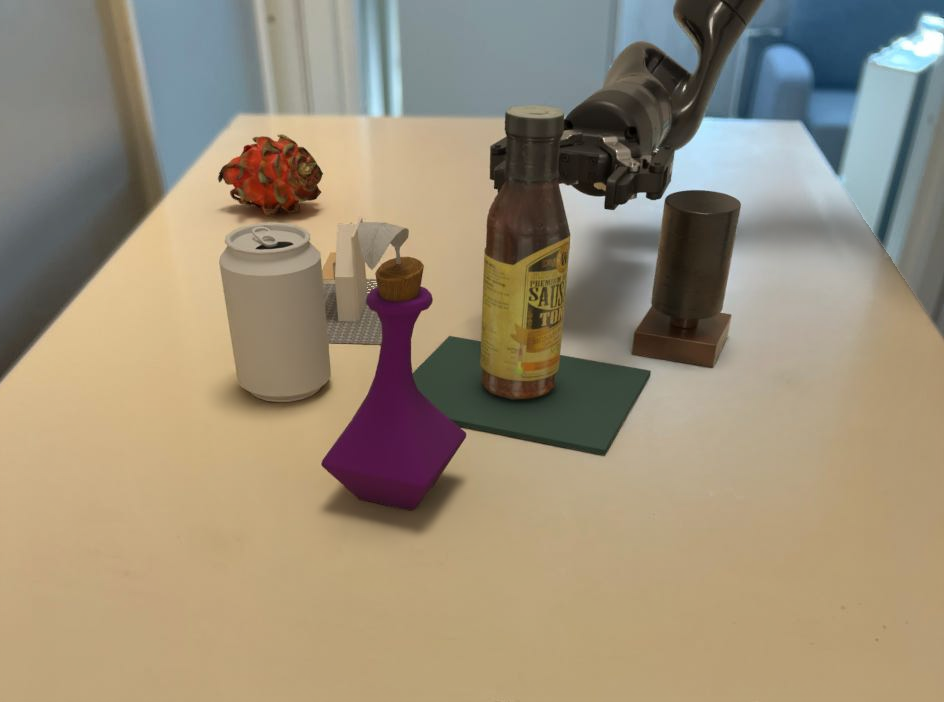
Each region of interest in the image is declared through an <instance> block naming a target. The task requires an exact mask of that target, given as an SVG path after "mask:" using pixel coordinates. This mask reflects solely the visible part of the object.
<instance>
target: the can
mask: <svg viewBox="0 0 944 702" xmlns="http://www.w3.org/2000/svg"><path fill="white" fill-rule="evenodd" d="M224 244H225V245H226V247H225V248H224V250H223V251H222V253H221V254H220V256H219V261H218V263H219V270H220V277H221V283H222V289H223V296H224V302H225V310H226V314H227V315H226V316H227V321H228V322H227V323H228V328H229V334H230V341H231V347H232V354H233V360H234V366H235V373H236V381H237V382H238V384H239V385H240V387H241V388H243V389H244V390H246V391H248V392H250V394H251V395H253V396H254V397H256V398H258V399H260V400H263V401H267V402H274V403H287V402H288V403H290V402H296V401H300V400H304V399H306V398H309V397H312V396H314V395H315V394H316V393H318V392H319V391H320V390H321V389H322V387H323V386H324V385H326V383H328V381H329V380H330V378H331V377H332V372H331V371H332V368H331V357H330V345H329V343H328V333H327V322H326V311H325V300H324V288H323V277H322V269H323V267H322V257H321V256H322V255H321V252H320V251H319V249H317V248H316V247H315V245H314V244H313V243H311V233H310V232H309V231H308V230H307V229H306V227H305V228H304V227H302V226H300V225H298V224H293V223H288V222H277V221H276V222H274V221H273V222H259V223H258V222H257V223H252V224H246V225H243V226H239V227H236V228H235V229H233V230H231V231H230V232H229V233H227V234H226V235H225V238H224Z"/></svg>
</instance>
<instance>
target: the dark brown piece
mask: <svg viewBox="0 0 944 702" xmlns="http://www.w3.org/2000/svg"><path fill="white" fill-rule="evenodd" d="M741 208H742V203H741V201H740V200H739V199H738V198H737V197H734V196H733V195H730V194H728V193H727V194H726V193H723V192H720V191H713V190H702V189H689V190H688V189H687V190H679V191H675V192H672V193H670V194H668V195H667V196H665V198H664V202H663V210H662V218H661V226H660V232H659V241H658V248H657V255H656V261H655V262H656V263H655V270H654V279H653V285H652V292H651V293H652V294H651V299H650V300H651V301H650V303H651V306H650V307H649V309H648V310H647V312H646V313H645V315H644V316H643V318H642V320H641V322H640V323H639V324H638V325H637V327H636V329H635V330H634V332H633V340H632V348H631V354H632V355H636V356H643V357H648V358H654V359H660V360H666V361H671V362H672V361H673V362H678V363H684V364H690V365H697V366H702V367H708V368H713V367H715V363H716V361H717V360H718V357H719V355H720V353H721V350H722V349H723V346H724V344H725V342H726V340H727V338H728V336H729V332H730V331H729V330H730V326H731V320H732V313H725V312H722V311H723V308H724V304H725V303H724V302H725V296H726V291H727V285H728V280H729V274H730V269H731V264H732V258H733V252H734V247H735V242H736V235H737V230H738V226H739V225H738V224H739V220H740V219H739V218H740V214H741Z"/></svg>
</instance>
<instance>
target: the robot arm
mask: <svg viewBox="0 0 944 702" xmlns="http://www.w3.org/2000/svg"><path fill="white" fill-rule="evenodd" d="M765 1H766V0H675V1H674V4H673V8H672V15H673V18H674V21H675V22H676V23H677V25H678V27H679V28H680V29H681V30H682V32H683V33H684V34H685V35H686V36H687V38H688V39H689V40H690V41H691V43H692V45H693V46H694V48H695V51H696V54H697V63H696V67H695V69H694V71H693V73H692V72H690V71H689V70H688V69H687V68H685V67H684V66H682V64H680V63H679V62H677V61H676V60H675V59H674V58H673V57H671V56H670V55H667V53H666V52H665V51H664V50H662V49H661V48H659V46H657V45H655V44H653V43H652V42H649V41H643V40H640V41H634V42H633V43H630V44H629V45H627V46H625V48H624V49H622V51H621V52H620V53H619V54H618V55H617V56H616V58H615V59H614V60H613V62H612V64H611V65H610V67H609V69H608V72H607V73H606V77H605V79H604V81H603V82H604V83H603V85H602V87H601V88H600V89H598V90H596V91H595V92H593V93H592V94H591V95H590V96H588V97H587V98H586V99H585V100H583V101H582V102H580V103H579V104H578V105H577V106H576V107H574V108H573V109H572V110H571V111H570V112H569V113H568V114H567V115H566V116H565V117H564V132H563V135H562V137H561V139H560V149H559V151H560V152H559V161H558V172H559V178H558V183H559V185H561V184H563V185H565V186H571V187H572V188H573V189H575V190H576V191H578V192H580V193H581V194H584V195H587V196H590V197H598V198H599V197H604V204H603V208H604V210H608V211H615V210H616V209H617V208H618V207H619V206H622V205H625V204H627V203H628V201H631V200H636V199H637V198H638V197H637V196H638V194H642V193H643V194H645V198H646V199H647V200H650V201H657V200H661V199H662V197H663V196H664V194H665V192H666V190H667V189H668V187H669V185H670V183H671V182H672V175H673V169H674V159H675V154H676V153H675V152H676V151H679V150H681V149H683V147H685V146H686V145H688V144H689V143H690V142H691V141H692V140H693V138H694V137H695V136H696V134H697V133H698V131H699V129H700V127H701V126H702V123H703V121H704V118H705V116H706V113H707V111H708V107H709V105H710V102H711V100H712V97H713V94H714V91H715V89H716V87H717V84H718V81H719V79H720V77H721V74H722V72H723V69H724V67H725V65H726V63H727V61H728V59H729V57H730V55H731V54H732V51H734V48H735V47H736V45H737V43H738V42H739V40H740V39H741V37H742V36H743V34H744V32H745V31H746V29H747V27H748V26H749V25H750V23H751V22H752V20H753V19H754V17H755V16H756V14H757V13H758V11H759V10H760V9H761V7H762V6H763V5H764V3H765ZM506 145H507V136H505V137H503V138H501V139H500V140H498V141H496V142H495V143H492V144H491V145H489V180H491V181H493V189H494V190H497V194H498V193H499V191H500V190H501V188H502V186H503V184H504V182H505V176H504V170H505V167H506Z"/></svg>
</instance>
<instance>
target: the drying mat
mask: <svg viewBox="0 0 944 702" xmlns="http://www.w3.org/2000/svg"><path fill="white" fill-rule="evenodd" d="M480 357H481V340H476V339H471V338H465V337H459V336H453V335H449V336H448V337H446V338H445V340H444V341H443V342H442V343H441V344H440V345H439V346H438V347H437V348H436V349H435V350H434V351H433V352H432V353H431V354H430V355H429V356H428V357H427V358H426V359H425V360H424V361H423V362H422V363H421V364H420V365H419V366H418V367H417V368H416V369H415V370H414V371H412V374H413V378H414V381H415V384H416V386H417V389H418V390H419V391H420V392H421V393H422V394H423V395H424V396H425V397H426V398H427V399H428V400H429V401H430V402H431V403H432V404H433V405H434V406H435V407H436V408H437V409H438V410H440V411H441V412H442V413H443V414H444V415H446V416H447V417H448V418H449V419H450V420H452V421H453V422H454V423H455V424H456V425H458V426H459V427H460V428H466V429H472V430H476V431H480V432H486V433H491V434H495V435H501V436H506V437H510V438H516V439H521V440H526V441H530V442H531V441H532V442H536V443H540V444H546V445H551V446H554V447H555V446H556V447H560V448H561V447H562V448H566V449H570V450H571V449H572V450H577V451H581V452H585V453H590V454H597V455H601V456H605V455H606V454H607V452H608V450H609V448H610V446H611V445H612V444H613V442H614V440H615V438H616V436H617V435H618V432H619V431H620V430H621V427H622V426H623V424H624V422H625V421H626V419H627V417H628V415H629V414H630V412H631V410H632V408H633V406H634V405H635V403H636V401H637V399H638V398H639V396H640V394H641V392H642V390H644V387H645V385H646V384H647V382H648V380H649V378H650V377H651V372H652V371H651V370H650V369H644V368H637V367H632V366H626V365H621V364H614V363H609V362H604V361H603V362H602V361H599V360H592V359H586V358H580V357H574V356H570V355H569V356H568V355H563V354H560V362H559V369H558V371H557V373H556V381H555V383H554V386H553V388H552V390H551V391H550V392H549V393H547V394H546V395H542V396H540V397H536V398H531V399H515V400H512V399H507V398H503V397H501V396H497V395H494V394H492V393H490V392H489V391H488V390H487V389H485V387H484V386H483V382H482V367H481V364H480Z"/></svg>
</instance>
